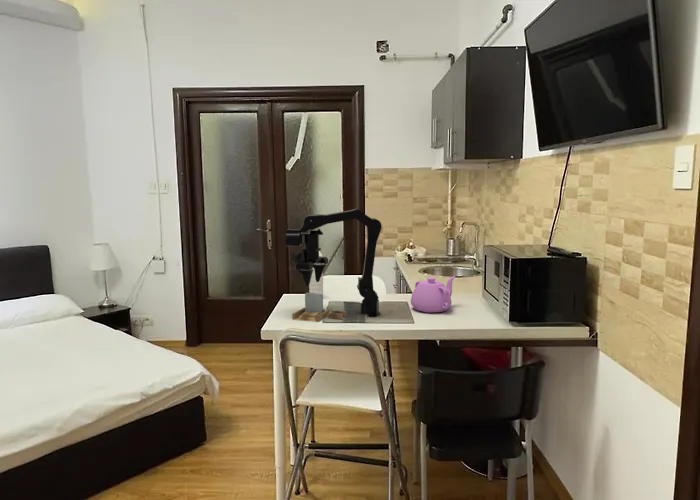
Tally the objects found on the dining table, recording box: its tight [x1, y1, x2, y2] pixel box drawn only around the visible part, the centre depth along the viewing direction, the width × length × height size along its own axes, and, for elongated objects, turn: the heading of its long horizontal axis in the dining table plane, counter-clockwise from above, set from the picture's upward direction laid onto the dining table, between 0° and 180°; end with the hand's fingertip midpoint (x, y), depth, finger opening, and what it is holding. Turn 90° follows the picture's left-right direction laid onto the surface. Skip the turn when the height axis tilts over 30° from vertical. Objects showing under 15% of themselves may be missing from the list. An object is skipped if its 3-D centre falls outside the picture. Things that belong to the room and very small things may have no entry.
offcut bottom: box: [299, 316, 316, 320], centre depth 206 cm, size 7×5×1 cm
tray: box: [292, 307, 330, 323], centre depth 208 cm, size 11×11×3 cm
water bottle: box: [308, 250, 324, 295], centre depth 244 cm, size 9×6×25 cm
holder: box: [327, 309, 348, 321], centre depth 207 cm, size 6×5×3 cm
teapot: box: [410, 275, 456, 314], centre depth 224 cm, size 22×22×14 cm
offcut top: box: [301, 312, 319, 318], centre depth 206 cm, size 6×4×1 cm
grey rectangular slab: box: [304, 292, 324, 314], centre depth 210 cm, size 7×2×9 cm, turn 70°
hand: (312, 283), depth 212 cm, fingers open, 9 cm apart
